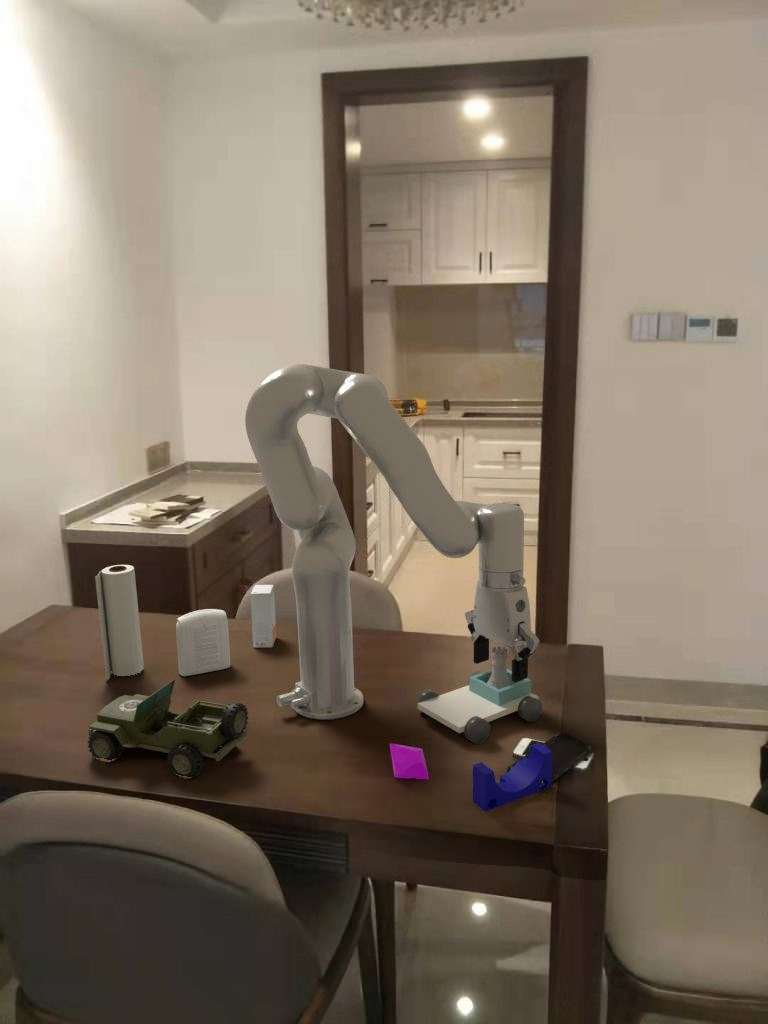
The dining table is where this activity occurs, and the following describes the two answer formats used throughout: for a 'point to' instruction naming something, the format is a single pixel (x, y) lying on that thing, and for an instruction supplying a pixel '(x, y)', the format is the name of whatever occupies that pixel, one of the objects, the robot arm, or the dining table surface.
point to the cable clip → (512, 779)
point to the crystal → (408, 762)
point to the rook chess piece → (499, 668)
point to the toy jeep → (168, 729)
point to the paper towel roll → (119, 620)
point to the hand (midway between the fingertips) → (500, 670)
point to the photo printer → (202, 642)
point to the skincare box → (263, 616)
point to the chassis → (480, 705)
